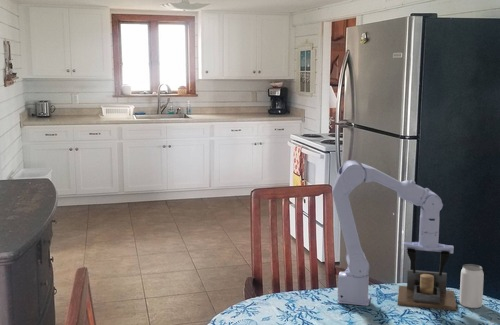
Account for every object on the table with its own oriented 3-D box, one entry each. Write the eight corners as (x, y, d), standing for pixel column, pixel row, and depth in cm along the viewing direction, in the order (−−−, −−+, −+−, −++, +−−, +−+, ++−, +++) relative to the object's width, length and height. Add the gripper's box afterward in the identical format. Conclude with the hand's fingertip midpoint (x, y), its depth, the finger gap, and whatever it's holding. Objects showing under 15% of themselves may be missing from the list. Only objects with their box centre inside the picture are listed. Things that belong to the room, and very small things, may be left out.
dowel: (419, 299, 171) (420, 277, 170) (419, 294, 175) (420, 273, 174) (432, 300, 170) (433, 279, 169) (433, 296, 174) (434, 274, 173)
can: (484, 309, 166) (486, 271, 164) (461, 308, 167) (463, 270, 166) (479, 301, 172) (481, 264, 170) (457, 299, 174) (459, 263, 172)
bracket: (397, 304, 170) (398, 282, 169) (399, 289, 183) (399, 268, 182) (456, 310, 166) (457, 287, 164) (453, 294, 178) (454, 273, 177)
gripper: (404, 232, 168) (402, 275, 170) (454, 236, 163) (452, 280, 165) (404, 226, 174) (403, 267, 176) (453, 229, 170) (451, 272, 172)
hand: (427, 273), depth 171 cm, fingers open, 7 cm apart
